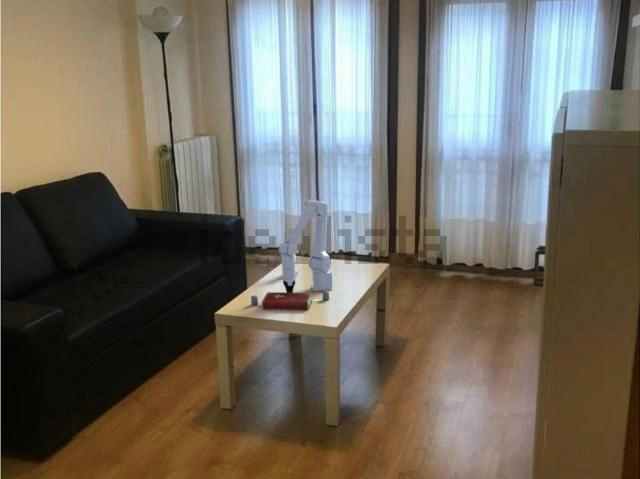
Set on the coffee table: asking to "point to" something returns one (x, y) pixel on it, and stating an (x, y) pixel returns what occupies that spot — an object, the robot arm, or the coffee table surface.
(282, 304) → the hardcover book
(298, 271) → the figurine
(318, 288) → the robot arm
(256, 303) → the strip
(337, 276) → the coffee table surface
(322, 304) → the coffee table surface
